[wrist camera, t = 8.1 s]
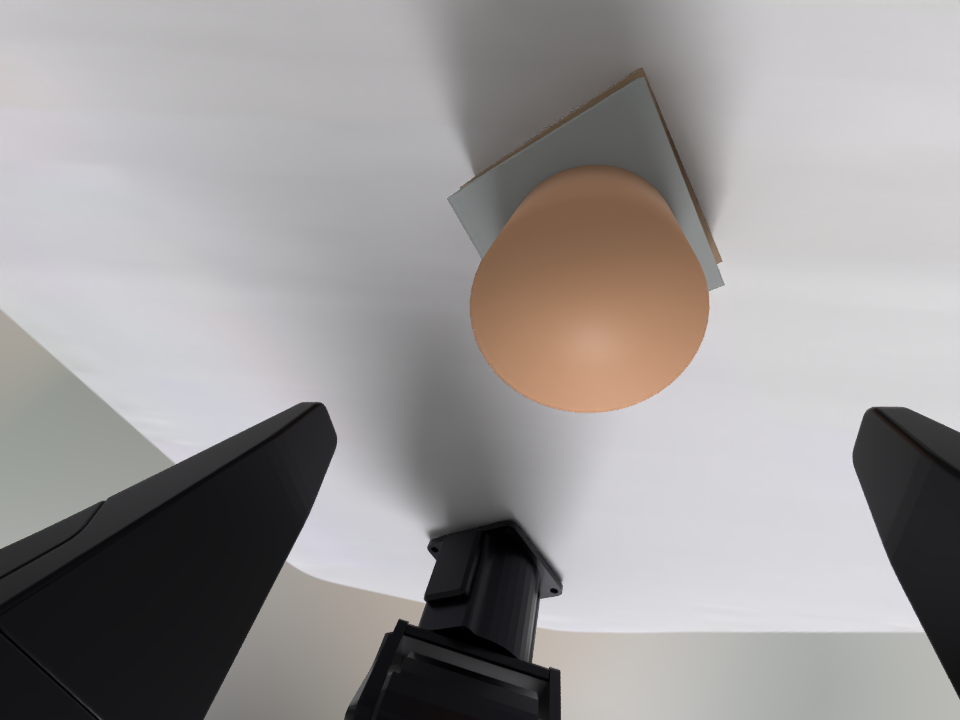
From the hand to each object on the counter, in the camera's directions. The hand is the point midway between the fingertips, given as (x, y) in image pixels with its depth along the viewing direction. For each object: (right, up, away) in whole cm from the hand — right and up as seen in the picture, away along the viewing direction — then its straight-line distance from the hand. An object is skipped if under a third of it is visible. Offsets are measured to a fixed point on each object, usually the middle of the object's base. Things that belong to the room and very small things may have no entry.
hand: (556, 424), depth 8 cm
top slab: (+2, +6, +8) cm, 10 cm away
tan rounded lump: (+2, +4, +6) cm, 7 cm away
